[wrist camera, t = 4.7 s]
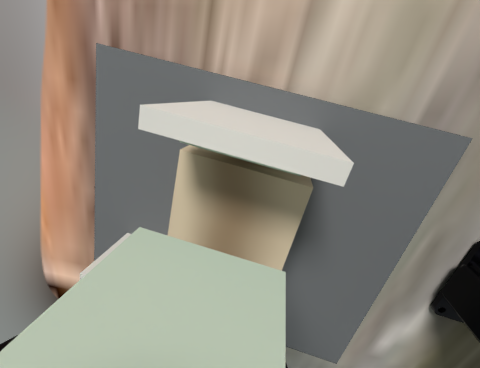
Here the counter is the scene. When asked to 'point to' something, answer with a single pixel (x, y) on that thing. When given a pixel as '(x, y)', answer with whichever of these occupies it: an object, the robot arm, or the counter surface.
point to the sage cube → (161, 312)
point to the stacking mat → (280, 158)
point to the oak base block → (237, 206)
